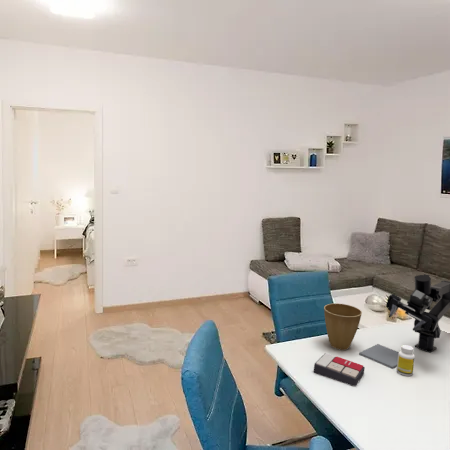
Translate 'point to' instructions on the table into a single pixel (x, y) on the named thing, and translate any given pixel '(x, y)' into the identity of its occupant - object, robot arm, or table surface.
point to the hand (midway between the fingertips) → (401, 322)
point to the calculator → (339, 369)
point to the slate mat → (381, 355)
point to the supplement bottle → (405, 360)
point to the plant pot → (341, 324)
